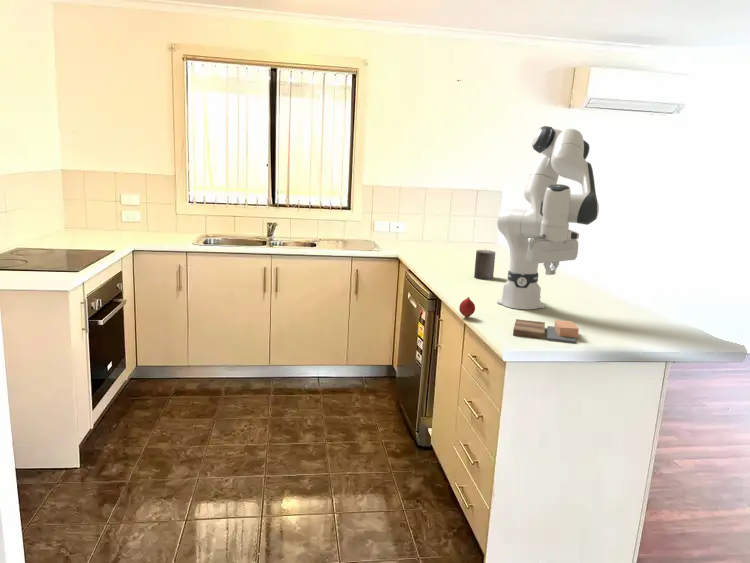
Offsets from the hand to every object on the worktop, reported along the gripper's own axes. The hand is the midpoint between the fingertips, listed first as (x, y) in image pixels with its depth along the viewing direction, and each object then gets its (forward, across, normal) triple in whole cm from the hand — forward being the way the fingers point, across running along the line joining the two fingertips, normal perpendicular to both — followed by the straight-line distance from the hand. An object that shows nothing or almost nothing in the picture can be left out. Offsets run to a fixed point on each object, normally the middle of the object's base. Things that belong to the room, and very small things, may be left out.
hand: (550, 274), depth 191 cm
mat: (+20, +2, -6) cm, 21 cm away
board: (+20, -5, +2) cm, 21 cm away
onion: (+20, -15, +25) cm, 36 cm away
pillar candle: (+22, +40, +84) cm, 96 cm away
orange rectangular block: (+20, +4, -6) cm, 21 cm away
